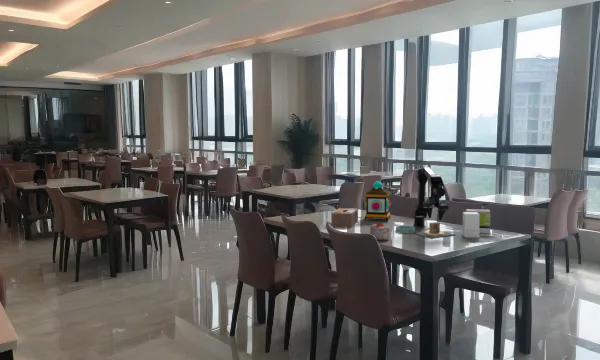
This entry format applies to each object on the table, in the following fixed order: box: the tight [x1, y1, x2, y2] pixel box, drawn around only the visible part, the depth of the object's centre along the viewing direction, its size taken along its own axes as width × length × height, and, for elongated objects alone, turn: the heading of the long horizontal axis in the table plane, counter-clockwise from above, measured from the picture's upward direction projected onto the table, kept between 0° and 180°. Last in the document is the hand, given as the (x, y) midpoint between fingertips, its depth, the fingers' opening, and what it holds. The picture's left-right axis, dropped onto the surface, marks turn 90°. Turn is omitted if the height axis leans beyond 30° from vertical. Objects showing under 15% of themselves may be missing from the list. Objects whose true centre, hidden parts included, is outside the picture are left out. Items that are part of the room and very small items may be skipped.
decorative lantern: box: [364, 180, 392, 223], centre depth 370 cm, size 20×20×30 cm
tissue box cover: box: [331, 207, 359, 229], centre depth 355 cm, size 26×14×10 cm, turn 163°
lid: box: [423, 221, 445, 236], centre depth 311 cm, size 13×13×7 cm
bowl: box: [395, 225, 416, 234], centre depth 323 cm, size 12×12×3 cm
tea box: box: [465, 208, 491, 235], centre depth 317 cm, size 15×10×15 cm
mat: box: [413, 230, 456, 239], centre depth 311 cm, size 20×16×1 cm
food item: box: [369, 223, 390, 241], centre depth 301 cm, size 14×8×10 cm, turn 24°
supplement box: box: [462, 211, 480, 239], centre depth 304 cm, size 9×9×15 cm
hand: (434, 219), depth 310 cm, fingers open, 9 cm apart
